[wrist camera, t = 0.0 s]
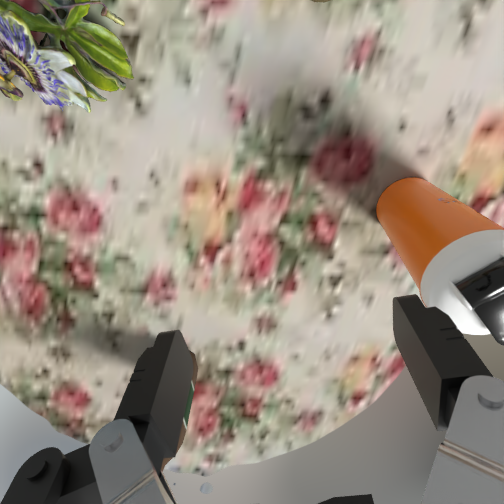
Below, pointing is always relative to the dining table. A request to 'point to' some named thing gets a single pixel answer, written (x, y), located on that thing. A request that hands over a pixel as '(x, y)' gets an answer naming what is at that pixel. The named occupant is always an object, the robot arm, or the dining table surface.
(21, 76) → the passion flower
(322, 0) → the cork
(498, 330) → the shaker bottle
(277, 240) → the dining table surface
